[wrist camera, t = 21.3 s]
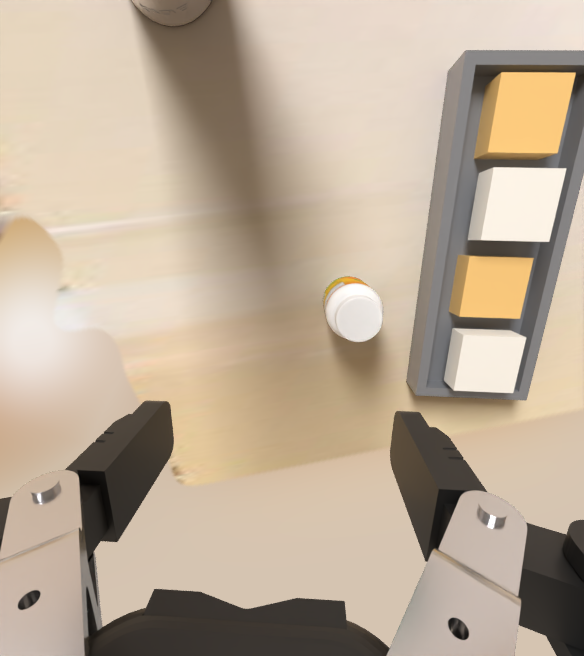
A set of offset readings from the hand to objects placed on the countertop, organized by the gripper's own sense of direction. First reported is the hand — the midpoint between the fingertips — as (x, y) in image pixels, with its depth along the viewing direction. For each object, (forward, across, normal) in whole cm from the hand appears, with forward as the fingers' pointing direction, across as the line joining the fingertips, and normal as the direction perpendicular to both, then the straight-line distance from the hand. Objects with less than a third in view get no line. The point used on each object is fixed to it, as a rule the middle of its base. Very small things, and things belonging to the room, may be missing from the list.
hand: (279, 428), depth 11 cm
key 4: (+23, -19, +6) cm, 31 cm away
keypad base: (+26, -19, -6) cm, 33 cm away
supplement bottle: (+26, -5, 0) cm, 27 cm away
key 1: (+25, -20, -17) cm, 36 cm away
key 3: (+25, -19, -2) cm, 31 cm away
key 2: (+23, -19, -9) cm, 32 cm away
